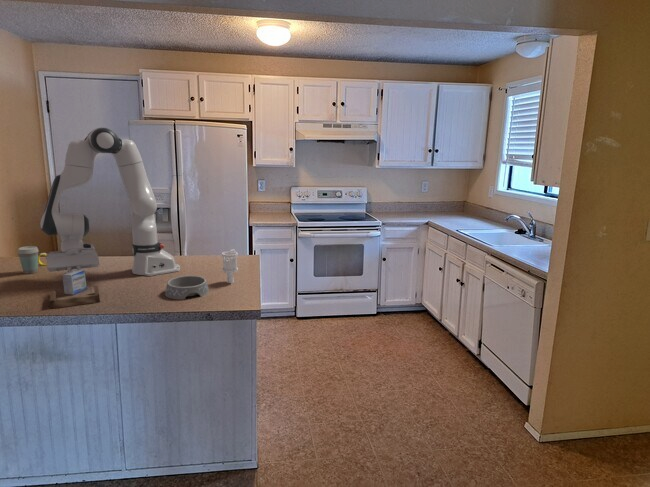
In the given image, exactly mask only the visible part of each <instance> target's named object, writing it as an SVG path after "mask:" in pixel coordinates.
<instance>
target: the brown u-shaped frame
mask: <svg viewBox="0 0 650 487" xmlns="http://www.w3.org/2000/svg"><path fill="white" fill-rule="evenodd" d="M93 289H94V293H93V294H88V295H80V296H79V295H78V296H71V297H63V298H57V293H56V290H52V291H51V292H50V296H49V306H50V307H49V308H50V309H51V310H52V309H59V308H65V307H66V308H67V307H73V306H80V305H87V304H88V305H90V304H95V303H97V304H98V303H101V300H100V291H99V286H98V285H95V286H93Z"/></svg>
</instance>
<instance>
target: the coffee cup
mask: <svg viewBox="0 0 650 487" xmlns="http://www.w3.org/2000/svg"><path fill="white" fill-rule="evenodd" d="M39 251H40V250H39V248H38V247H37V246H35V245H27V246H22V247H19V248H18V249H17V254H18V257H19V261H20V265H21V269H22V273H23V274H25V275H31V274H32V275H33V274H36V273H38V272H39V262H38V256H39Z"/></svg>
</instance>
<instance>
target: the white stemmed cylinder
mask: <svg viewBox="0 0 650 487" xmlns="http://www.w3.org/2000/svg"><path fill="white" fill-rule="evenodd" d="M238 254H239V253H238V252H237V251H236V249H235V248H233V249H229V250H228V251H223V252H221V257H222V269H221V271H222V272H223V273H226V283H228V284H233V283H235V278H234V275H235V274H234V273H237V272H238V271H239V267H238V260H237V259H238Z"/></svg>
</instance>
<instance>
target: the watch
mask: <svg viewBox="0 0 650 487" xmlns="http://www.w3.org/2000/svg"><path fill="white" fill-rule="evenodd" d="M46 254H47V252H42V253H39V254H38V265H41V266H47V263H43V262H42V261H41V257H42V256H45V257H46Z"/></svg>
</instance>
